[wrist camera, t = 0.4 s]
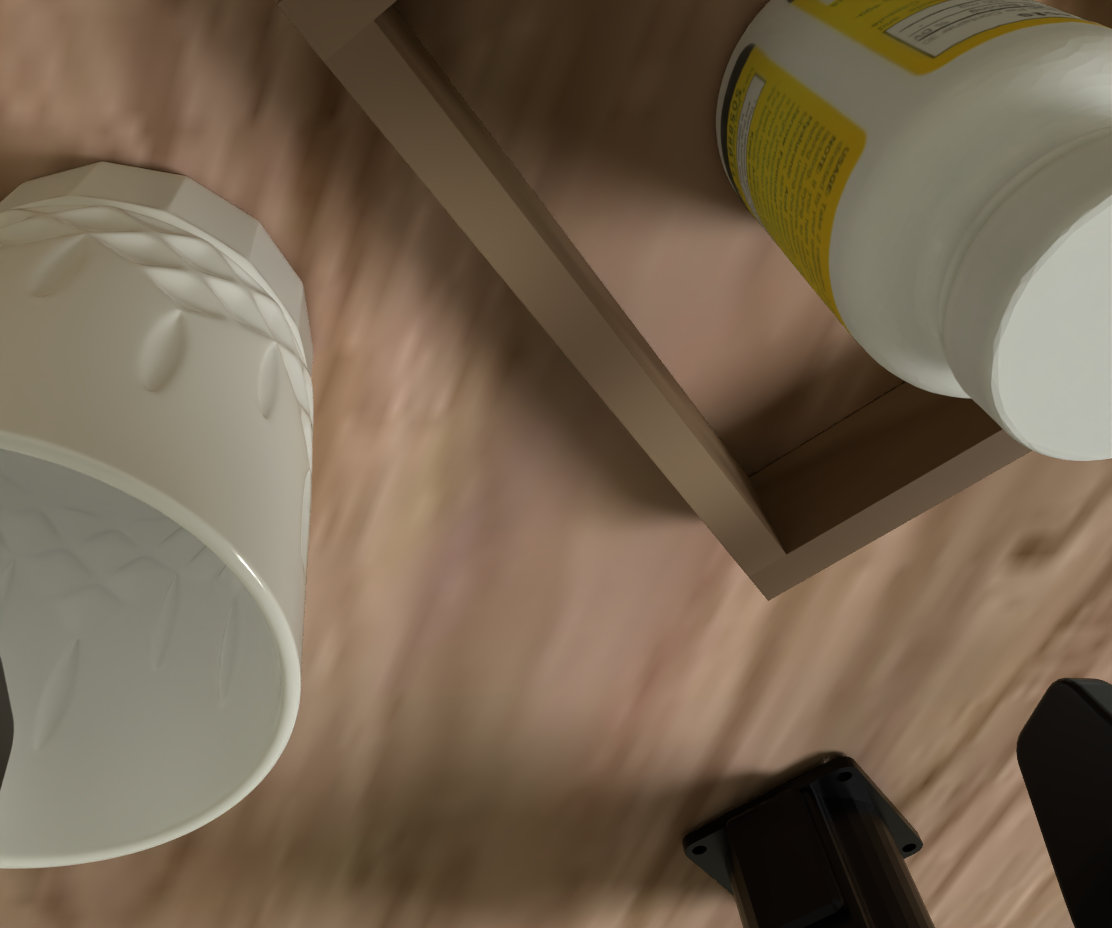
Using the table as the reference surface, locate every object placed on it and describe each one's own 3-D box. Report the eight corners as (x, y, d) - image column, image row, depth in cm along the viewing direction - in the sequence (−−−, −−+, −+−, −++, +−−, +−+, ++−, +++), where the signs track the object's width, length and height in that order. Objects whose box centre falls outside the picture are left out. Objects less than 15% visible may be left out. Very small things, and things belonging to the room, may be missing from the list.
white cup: (253, 79, 18) (126, 335, 10) (390, 426, 22) (381, 795, 14) (-156, 190, 18) (-611, 529, 10) (63, 510, 23) (-128, 920, 15)
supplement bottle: (822, 278, 22) (1063, 570, 14) (654, 116, 19) (831, 361, 11) (1028, 84, 20) (1447, 294, 12) (870, -124, 17) (1270, -34, 9)
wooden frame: (1268, 200, 22) (1375, 253, 19) (733, 521, 25) (768, 600, 23) (1055, -696, 13) (1198, -800, 11) (295, -29, 17) (276, 4, 14)
